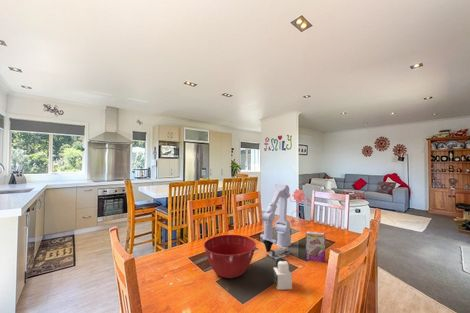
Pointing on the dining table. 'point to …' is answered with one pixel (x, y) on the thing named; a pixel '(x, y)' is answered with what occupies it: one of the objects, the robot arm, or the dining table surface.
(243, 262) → the mixing bowl
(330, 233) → the dining table surface
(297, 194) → the figurine
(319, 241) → the candy bar box
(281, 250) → the door handle
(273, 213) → the robot arm
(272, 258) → the plate
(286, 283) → the medicine bottle
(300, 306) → the dining table surface
